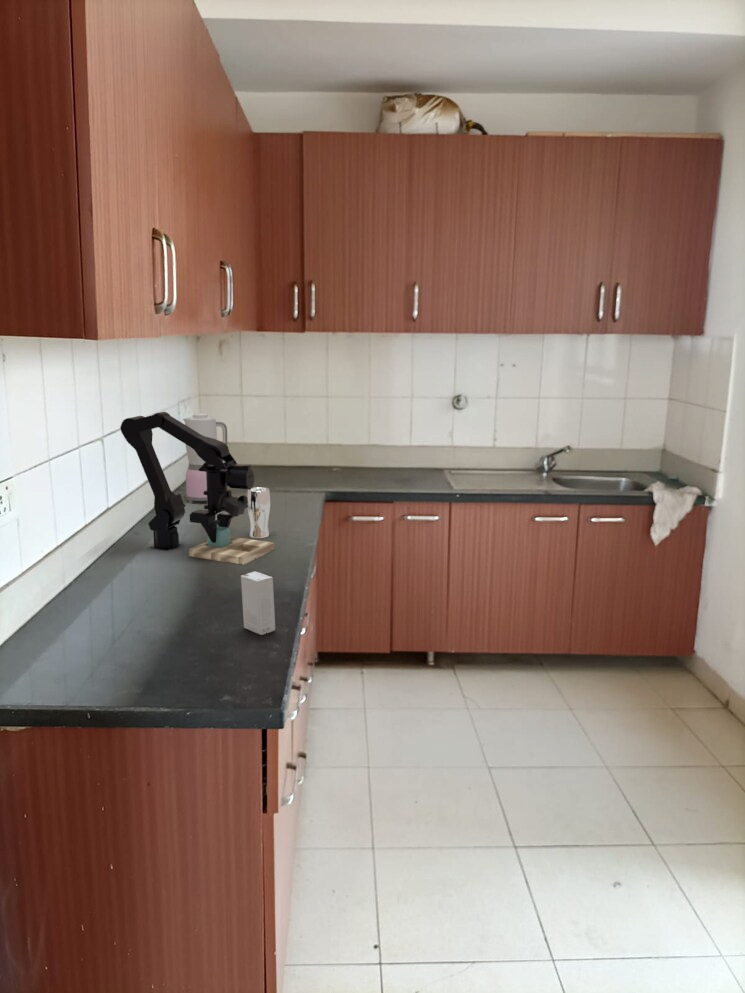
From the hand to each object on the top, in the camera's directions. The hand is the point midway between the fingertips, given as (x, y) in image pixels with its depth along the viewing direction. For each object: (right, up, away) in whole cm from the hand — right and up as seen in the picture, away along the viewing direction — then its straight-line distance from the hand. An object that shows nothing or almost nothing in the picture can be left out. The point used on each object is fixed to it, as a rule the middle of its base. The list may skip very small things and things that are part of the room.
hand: (218, 540), depth 215 cm
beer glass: (+9, 0, +17) cm, 19 cm away
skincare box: (+20, -16, -54) cm, 59 cm away
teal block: (0, -3, +1) cm, 3 cm away
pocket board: (+4, -4, -1) cm, 6 cm away
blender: (-17, +11, +65) cm, 68 cm away
